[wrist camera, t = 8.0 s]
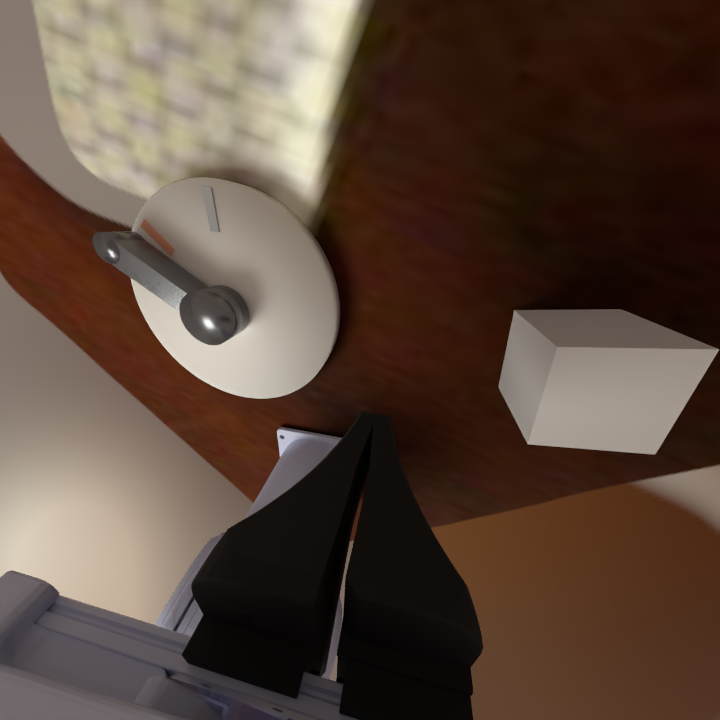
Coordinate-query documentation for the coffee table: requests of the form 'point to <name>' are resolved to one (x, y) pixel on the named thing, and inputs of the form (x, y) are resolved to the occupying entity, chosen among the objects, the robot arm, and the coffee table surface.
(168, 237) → the dial plate
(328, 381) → the coffee table surface
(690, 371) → the white cube
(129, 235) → the dial pointer
